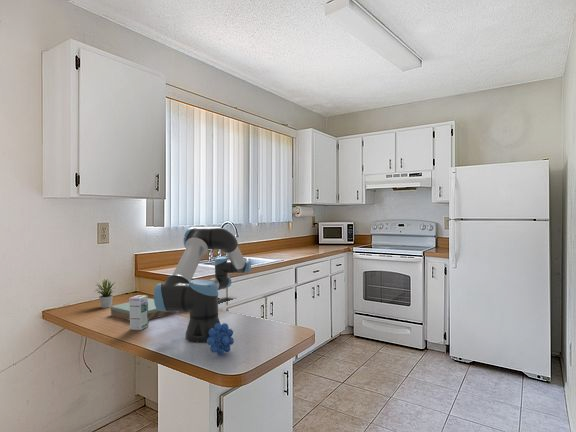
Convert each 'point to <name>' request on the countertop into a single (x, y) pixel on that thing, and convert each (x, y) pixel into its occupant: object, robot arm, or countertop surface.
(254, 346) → the countertop surface
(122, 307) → the lid
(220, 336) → the grapes
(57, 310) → the countertop surface
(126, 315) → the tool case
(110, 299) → the house plant
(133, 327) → the syrup box
